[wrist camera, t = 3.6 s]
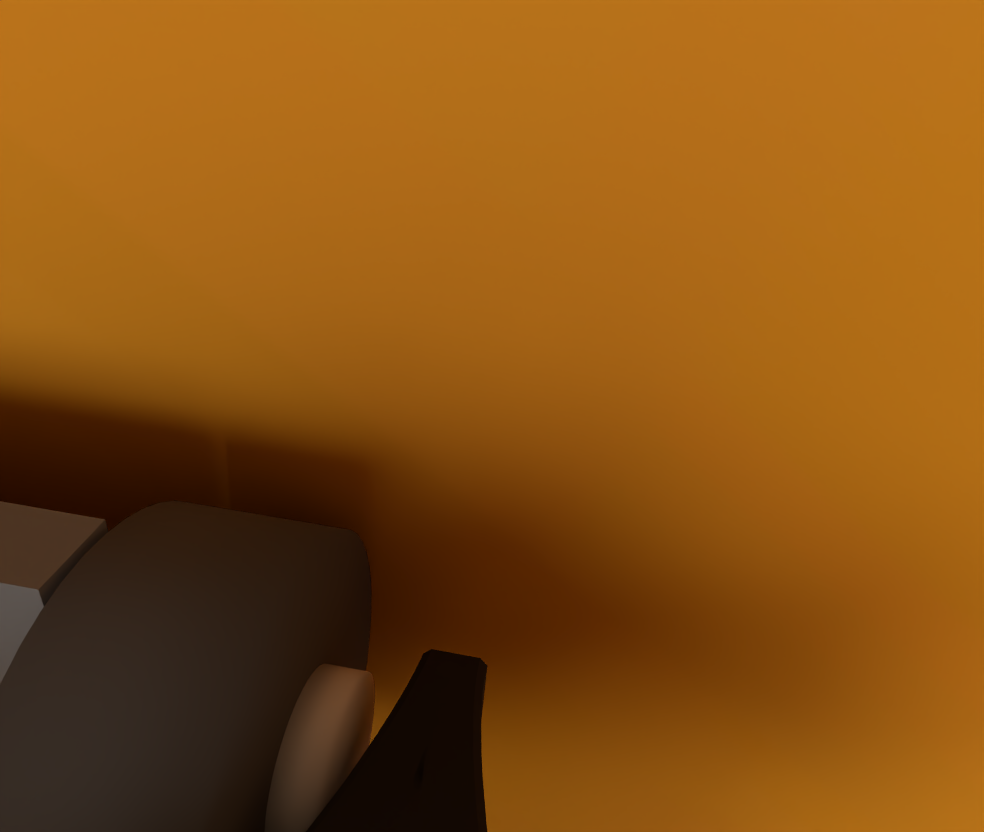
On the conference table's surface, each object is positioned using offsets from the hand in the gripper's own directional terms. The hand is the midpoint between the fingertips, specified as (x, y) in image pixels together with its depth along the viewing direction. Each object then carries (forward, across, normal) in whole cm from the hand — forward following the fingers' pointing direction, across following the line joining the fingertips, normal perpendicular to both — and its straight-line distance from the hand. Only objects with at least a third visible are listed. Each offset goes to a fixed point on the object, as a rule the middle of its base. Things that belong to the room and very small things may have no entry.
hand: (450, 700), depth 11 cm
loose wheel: (+2, +3, 0) cm, 3 cm away
